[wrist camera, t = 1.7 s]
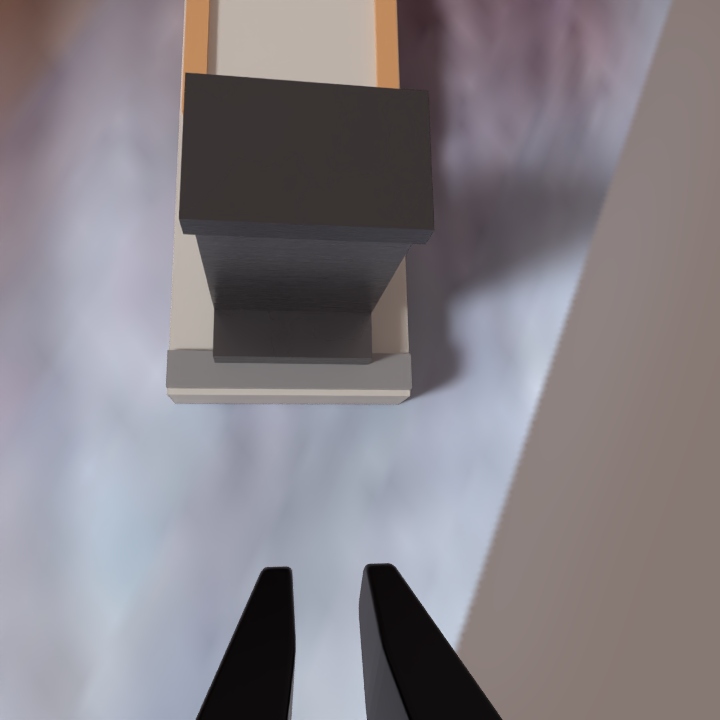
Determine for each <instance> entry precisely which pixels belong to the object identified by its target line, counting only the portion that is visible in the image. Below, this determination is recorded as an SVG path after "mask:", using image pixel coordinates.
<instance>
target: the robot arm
mask: <svg viewBox="0 0 720 720" xmlns="http://www.w3.org/2000/svg"><path fill="white" fill-rule="evenodd" d="M359 622H360V636H361V649H362V663H363V677H364V690H365V704H366V714H367V720H502V718H501V717H500V715H499V714H498V713H497V711H496V710H495V708H494V707H493V705H492V704H491V702H490V701H489V700H488V698H487V697H486V695H485V694H484V692H483V691H482V690H481V688H480V687H479V685H478V684H477V683H476V681H475V680H474V678H473V677H472V675H471V674H470V673H469V671H468V670H467V668H466V667H465V666H464V664H463V663H462V661H461V660H460V658H459V657H458V655H457V654H456V653H455V651H454V650H453V648H452V647H451V645H450V644H449V643H448V641H447V640H446V638H445V637H444V635H443V634H442V633H441V631H440V630H439V628H438V627H437V625H436V624H435V623H434V621H433V620H432V618H431V617H430V615H429V614H428V613H427V611H426V610H425V608H424V607H423V605H422V604H421V603H420V601H419V600H418V598H417V597H416V596H415V594H414V593H413V591H412V590H411V588H410V587H409V586H408V584H407V583H406V581H405V580H404V578H403V577H402V576H401V574H400V573H399V571H398V570H397V569H396V567H395V566H394V565H392V564H389V563H380V564H367V565H366V566H365V568H364V570H363V577H362V584H361V591H360V598H359ZM295 653H296V635H295V615H294V596H293V576H292V570H291V568H289V567H266V568H264V569H263V570H262V571H261V573H260V575H259V577H258V579H257V582H256V584H255V586H254V588H253V591H252V593H251V595H250V597H249V600H248V602H247V604H246V607H245V609H244V611H243V613H242V616H241V618H240V620H239V622H238V625H237V627H236V629H235V631H234V634H233V636H232V638H231V641H230V643H229V645H228V647H227V650H226V652H225V654H224V656H223V659H222V661H221V663H220V665H219V668H218V670H217V672H216V675H215V677H214V679H213V681H212V684H211V686H210V688H209V690H208V693H207V695H206V697H205V699H204V702H203V704H202V706H201V709H200V711H199V713H198V715H197V718H196V720H291V716H292V700H293V685H294V669H295Z"/></svg>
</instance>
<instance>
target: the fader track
mask: <svg viewBox="0 0 720 720" xmlns="http://www.w3.org/2000/svg"><path fill="white" fill-rule="evenodd" d="M185 72H186V73H199V74H212V75H225V76H238V77H252V78H265V79H278V80H291V81H304V82H317V83H330V84H343V85H357V86H370V87H383V88H396V89H400V77H399V48H398V18H397V0H185V11H184V33H183V55H182V77H181V99H180V120H179V142H178V164H177V186H176V208H175V230H174V252H173V274H172V296H171V318H170V340H169V350H168V354H167V375H166V387H167V395H168V396H169V397H170V398H171V400H172V401H173V402H174V403H175V404H400V403H401V402H402V401H404V400H405V399H407V398H408V397H409V396H410V390H411V389H412V374H411V354H409V345H408V315H407V285H406V256H404V258H403V260H402V262H401V263H400V265H399V267H398V268H397V270H396V272H395V274H394V275H393V277H392V279H391V280H390V282H389V284H388V286H387V287H386V289H385V291H384V292H383V294H382V296H381V298H380V299H379V301H378V303H377V304H376V306H375V308H374V310H373V311H372V313H371V321H372V360H371V361H370V362H369V363H368V365H345V364H268V363H215V362H214V359H213V329H214V307H213V303H212V299H211V295H210V291H209V287H208V283H207V279H206V275H205V271H204V267H203V263H202V260H201V256H200V252H199V248H198V244H197V240H196V236H195V235H188V234H183V232H182V228H181V225H180V222H179V201H180V179H181V156H182V133H183V111H184V88H185Z"/></svg>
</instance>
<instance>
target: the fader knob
mask: <svg viewBox="0 0 720 720" xmlns="http://www.w3.org/2000/svg"><path fill="white" fill-rule="evenodd" d="M179 222H180V225H181V228H182V232H183V234H188V235H195V236H196V240H197V244H198V248H199V252H200V256H201V260H202V263H203V267H204V271H205V275H206V279H207V283H208V287H209V291H210V295H211V299H212V303H213V307H214V329H213V359H214V362H215V363H268V364H345V365H368V363H369V362H370V361H371V360H372V321H371V313H372V311H373V310H374V308H375V306H376V304H377V303H378V301H379V299H380V298H381V296H382V294H383V292H384V291H385V289H386V287H387V286H388V284H389V282H390V280H391V279H392V277H393V275H394V274H395V272H396V270H397V268H398V267H399V265H400V263H401V262H402V260H403V258H404V256H405V255H406V253H407V251H408V250H409V248H410V246H411V244H426V242H427V241H428V239H429V238H430V236H431V235H432V233H433V231H434V212H433V189H432V167H431V144H430V121H429V98H428V91H422V90H409V89H396V88H383V87H370V86H357V85H343V84H330V83H317V82H304V81H291V80H278V79H265V78H252V77H238V76H225V75H212V74H199V73H186V72H185V88H184V111H183V133H182V156H181V179H180V201H179Z"/></svg>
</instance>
